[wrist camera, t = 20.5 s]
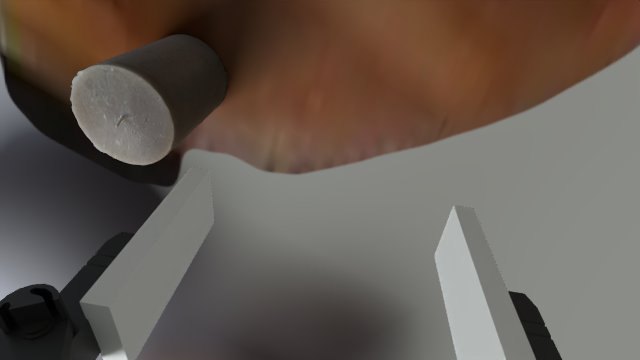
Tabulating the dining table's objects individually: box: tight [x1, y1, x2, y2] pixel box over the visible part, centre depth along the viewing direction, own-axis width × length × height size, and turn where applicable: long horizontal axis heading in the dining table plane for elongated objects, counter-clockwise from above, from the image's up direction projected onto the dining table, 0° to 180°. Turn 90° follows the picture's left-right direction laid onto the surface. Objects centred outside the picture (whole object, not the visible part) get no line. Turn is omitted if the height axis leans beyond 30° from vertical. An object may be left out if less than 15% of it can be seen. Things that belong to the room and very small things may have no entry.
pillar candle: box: [70, 34, 227, 165], centre depth 37 cm, size 10×10×15 cm
